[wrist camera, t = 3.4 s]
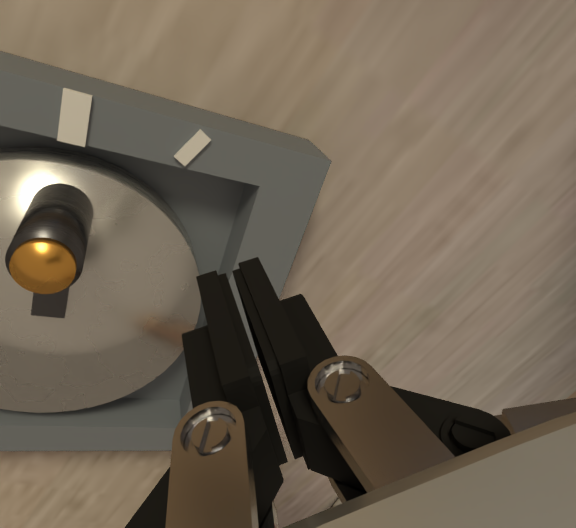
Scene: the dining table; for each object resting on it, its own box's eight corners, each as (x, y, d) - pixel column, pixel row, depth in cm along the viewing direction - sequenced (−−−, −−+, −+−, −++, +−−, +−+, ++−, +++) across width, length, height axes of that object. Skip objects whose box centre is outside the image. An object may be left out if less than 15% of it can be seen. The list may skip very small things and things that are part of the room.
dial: (226, 185, 23) (255, 252, 17) (167, 391, 29) (174, 491, 23) (-125, 105, 18) (-250, 164, 12) (-111, 378, 24) (-190, 504, 18)
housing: (309, 140, 25) (333, 162, 22) (213, 409, 33) (221, 453, 30) (-253, -22, 16) (-346, -23, 13) (-190, 396, 24) (-237, 456, 21)
